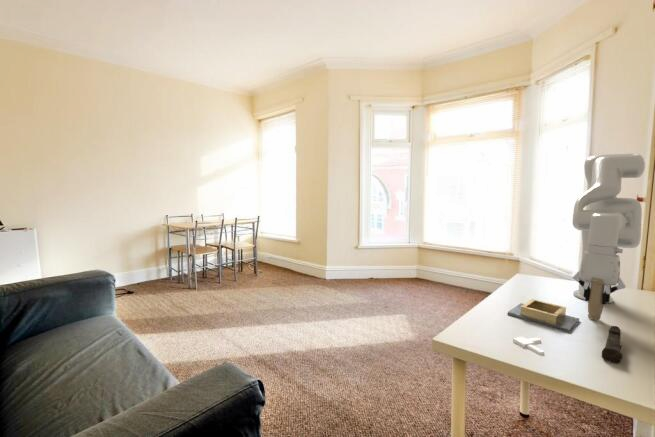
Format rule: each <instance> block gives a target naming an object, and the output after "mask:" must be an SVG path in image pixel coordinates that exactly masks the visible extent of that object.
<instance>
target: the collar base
mask: <svg viewBox="0 0 655 437" xmlns="http://www.w3.org/2000/svg"><path fill="white" fill-rule="evenodd" d="M566 312H567V307H566V306H562V305H557V304H553V303H550V302H546V301H542V300H537V299H534V298H531V299H530V300H528V301H526V302H525V303H522V302H520V303H519V304H517V305H516V306H514V307H513V308H511V309H510V310H508V311H507V316H511V317H514V318H518V319H520V320H525V321H529V322H531V323H535V324H538V325H541V326H545V327H548V328H551V329H555V330H559V331H562V332H565V333H570V332H571V331H572V330H573V329H574V328H575V327H576V325H578V324H579V322H580V318H578V317H575V316H571V315H567V314H566Z"/></svg>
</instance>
